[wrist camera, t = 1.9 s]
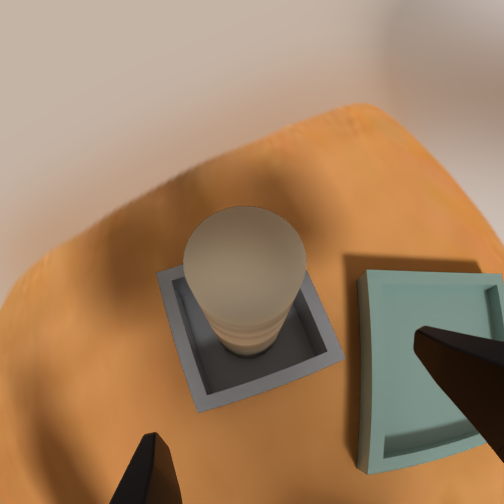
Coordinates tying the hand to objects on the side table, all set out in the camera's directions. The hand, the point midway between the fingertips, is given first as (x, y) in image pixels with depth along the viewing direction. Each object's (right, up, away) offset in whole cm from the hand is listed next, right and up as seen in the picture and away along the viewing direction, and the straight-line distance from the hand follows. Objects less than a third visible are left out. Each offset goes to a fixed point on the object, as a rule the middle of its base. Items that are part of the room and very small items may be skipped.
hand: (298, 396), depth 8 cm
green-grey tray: (+13, -4, +10) cm, 17 cm away
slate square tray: (-2, -1, +12) cm, 12 cm away
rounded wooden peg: (-2, -1, +11) cm, 11 cm away
